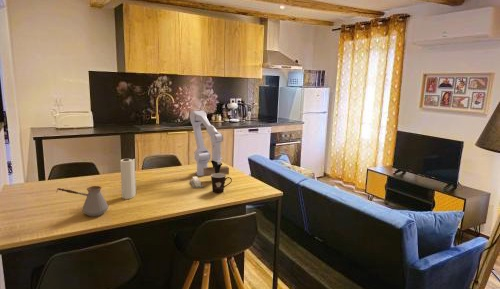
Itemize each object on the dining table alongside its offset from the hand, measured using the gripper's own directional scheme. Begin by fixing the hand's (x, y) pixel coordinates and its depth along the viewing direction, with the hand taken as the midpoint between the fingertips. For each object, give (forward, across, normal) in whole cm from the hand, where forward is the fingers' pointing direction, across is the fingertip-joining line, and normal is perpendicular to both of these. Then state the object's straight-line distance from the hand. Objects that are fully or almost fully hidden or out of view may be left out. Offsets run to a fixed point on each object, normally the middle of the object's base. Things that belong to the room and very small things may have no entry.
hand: (216, 172), depth 214 cm
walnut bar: (+2, 0, 0) cm, 2 cm away
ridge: (+5, -5, +14) cm, 16 cm away
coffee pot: (+6, -37, +74) cm, 83 cm away
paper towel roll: (+6, -18, +54) cm, 57 cm away
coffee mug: (+6, -22, +3) cm, 23 cm away
